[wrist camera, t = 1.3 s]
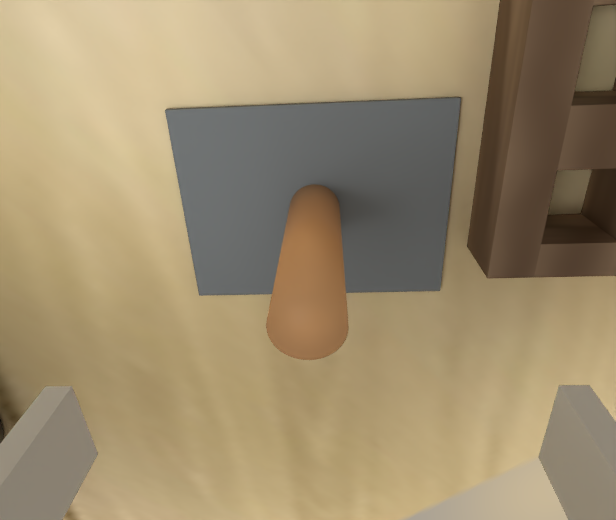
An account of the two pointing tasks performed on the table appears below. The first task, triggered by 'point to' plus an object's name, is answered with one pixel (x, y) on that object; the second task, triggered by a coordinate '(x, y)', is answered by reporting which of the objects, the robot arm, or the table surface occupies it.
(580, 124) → the hole block
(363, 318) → the table surface
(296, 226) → the pin
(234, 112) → the mat
